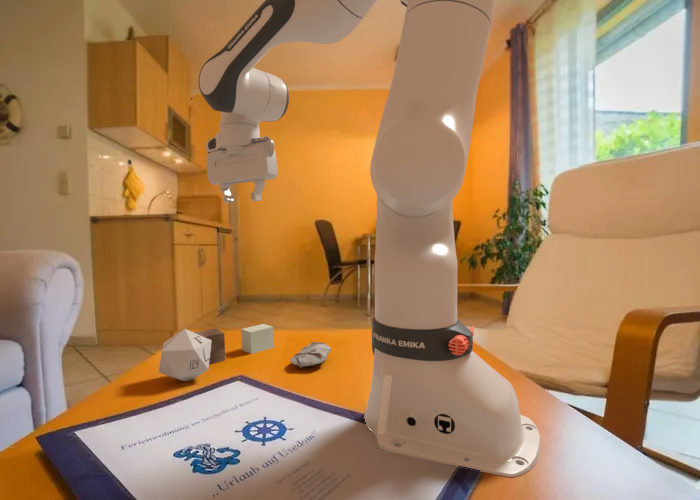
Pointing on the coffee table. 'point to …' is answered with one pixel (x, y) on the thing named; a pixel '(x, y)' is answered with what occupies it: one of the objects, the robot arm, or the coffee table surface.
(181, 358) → the die
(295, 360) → the stone
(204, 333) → the walnut block
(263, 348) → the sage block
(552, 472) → the coffee table surface
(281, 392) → the coffee table surface
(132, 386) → the coffee table surface
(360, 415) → the coffee table surface
